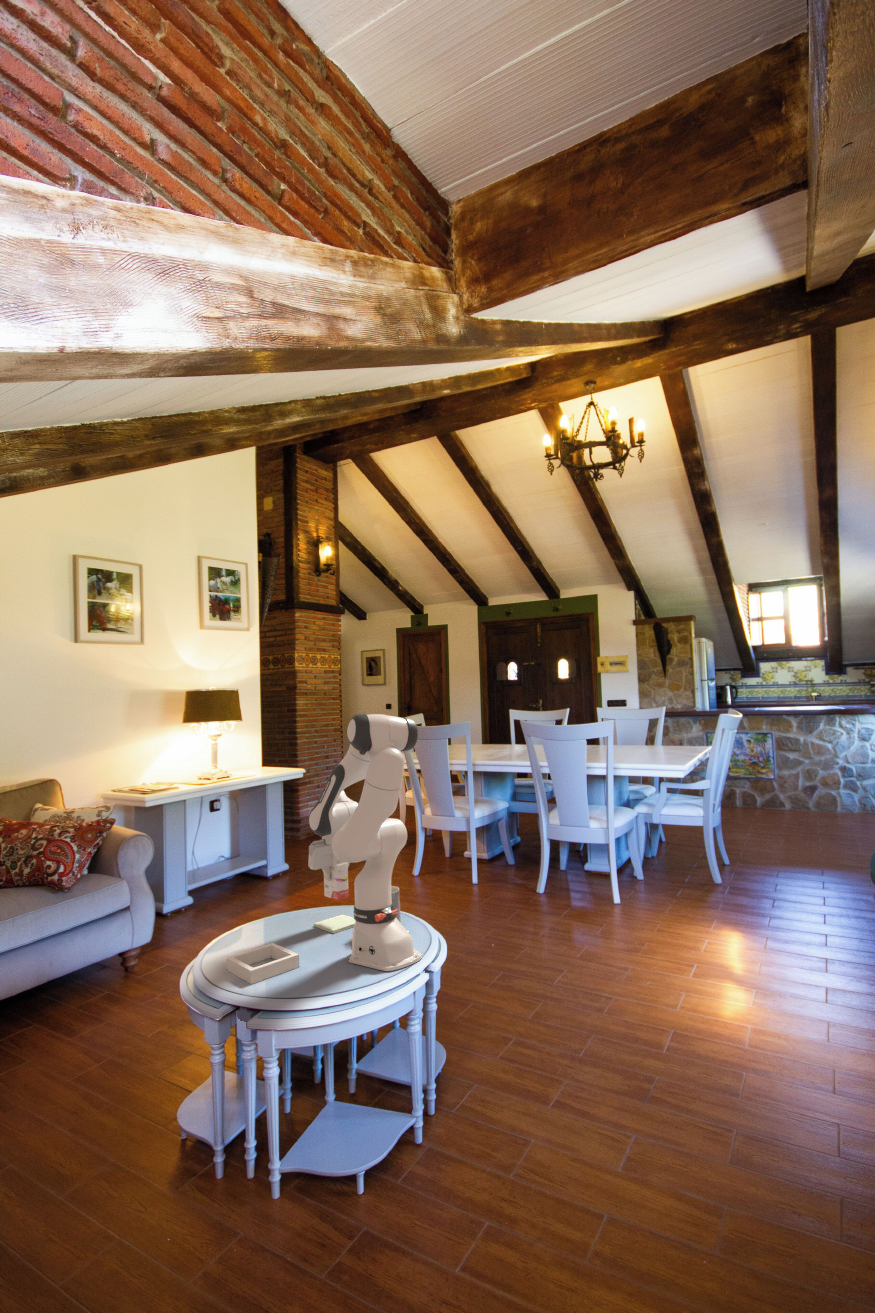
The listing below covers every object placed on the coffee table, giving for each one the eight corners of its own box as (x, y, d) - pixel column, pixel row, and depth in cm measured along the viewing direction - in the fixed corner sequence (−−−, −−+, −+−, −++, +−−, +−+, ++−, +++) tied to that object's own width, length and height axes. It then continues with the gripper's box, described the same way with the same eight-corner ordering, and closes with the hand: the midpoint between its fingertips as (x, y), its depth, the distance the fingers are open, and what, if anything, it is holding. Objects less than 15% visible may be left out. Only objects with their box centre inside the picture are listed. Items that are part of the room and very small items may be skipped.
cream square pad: (363, 924, 223) (362, 921, 223) (333, 933, 215) (333, 930, 215) (342, 917, 232) (342, 914, 232) (313, 926, 223) (313, 923, 223)
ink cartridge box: (349, 897, 223) (348, 853, 224) (337, 901, 219) (336, 856, 220) (335, 892, 229) (334, 850, 230) (323, 896, 226) (322, 853, 227)
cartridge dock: (299, 967, 188) (298, 954, 188) (251, 984, 178) (251, 971, 178) (273, 954, 199) (272, 943, 199) (226, 970, 188) (226, 957, 189)
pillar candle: (366, 932, 214) (364, 886, 215) (389, 924, 220) (387, 879, 221) (384, 940, 207) (381, 891, 208) (407, 931, 213) (405, 884, 214)
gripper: (314, 843, 216) (315, 886, 215) (363, 833, 230) (365, 872, 229) (303, 841, 221) (305, 882, 220) (353, 831, 235) (354, 870, 234)
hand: (336, 877), depth 224 cm, fingers closed on ink cartridge box, 5 cm apart
